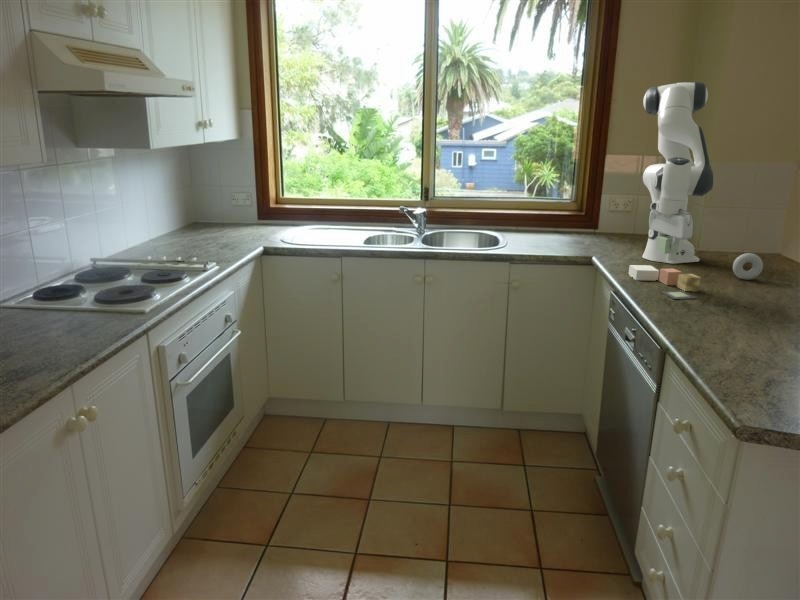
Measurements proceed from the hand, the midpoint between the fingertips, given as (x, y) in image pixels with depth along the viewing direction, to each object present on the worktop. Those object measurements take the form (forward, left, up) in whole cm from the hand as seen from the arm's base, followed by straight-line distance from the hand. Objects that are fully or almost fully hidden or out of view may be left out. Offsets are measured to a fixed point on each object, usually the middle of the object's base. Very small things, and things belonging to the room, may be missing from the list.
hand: (667, 247), depth 208 cm
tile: (+1, +11, -14) cm, 18 cm away
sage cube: (0, 0, -2) cm, 2 cm away
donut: (-37, -6, -15) cm, 41 cm away
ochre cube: (-7, +4, -14) cm, 17 cm away
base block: (0, -13, -15) cm, 20 cm away
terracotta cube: (-5, -4, -14) cm, 16 cm away
